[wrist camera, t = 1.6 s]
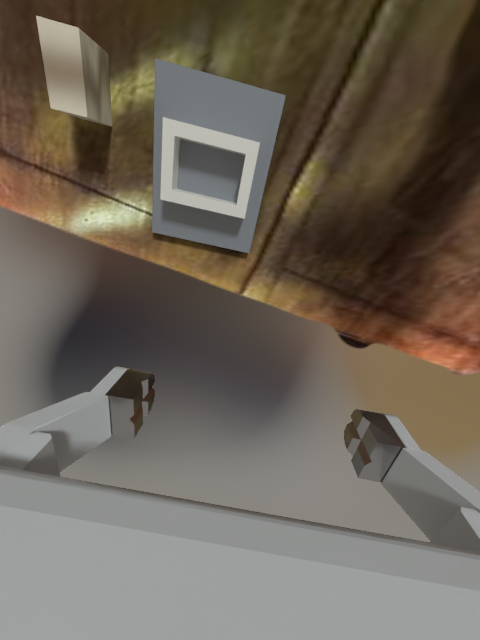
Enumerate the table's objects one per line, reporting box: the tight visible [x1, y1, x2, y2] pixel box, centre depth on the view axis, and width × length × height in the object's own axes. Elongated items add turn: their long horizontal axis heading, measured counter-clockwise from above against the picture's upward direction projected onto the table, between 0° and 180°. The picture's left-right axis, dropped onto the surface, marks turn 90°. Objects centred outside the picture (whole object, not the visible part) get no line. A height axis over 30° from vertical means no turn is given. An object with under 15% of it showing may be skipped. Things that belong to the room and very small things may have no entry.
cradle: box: [152, 58, 286, 253], centre depth 33 cm, size 20×16×4 cm
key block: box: [36, 16, 112, 126], centre depth 28 cm, size 7×4×6 cm, turn 168°
